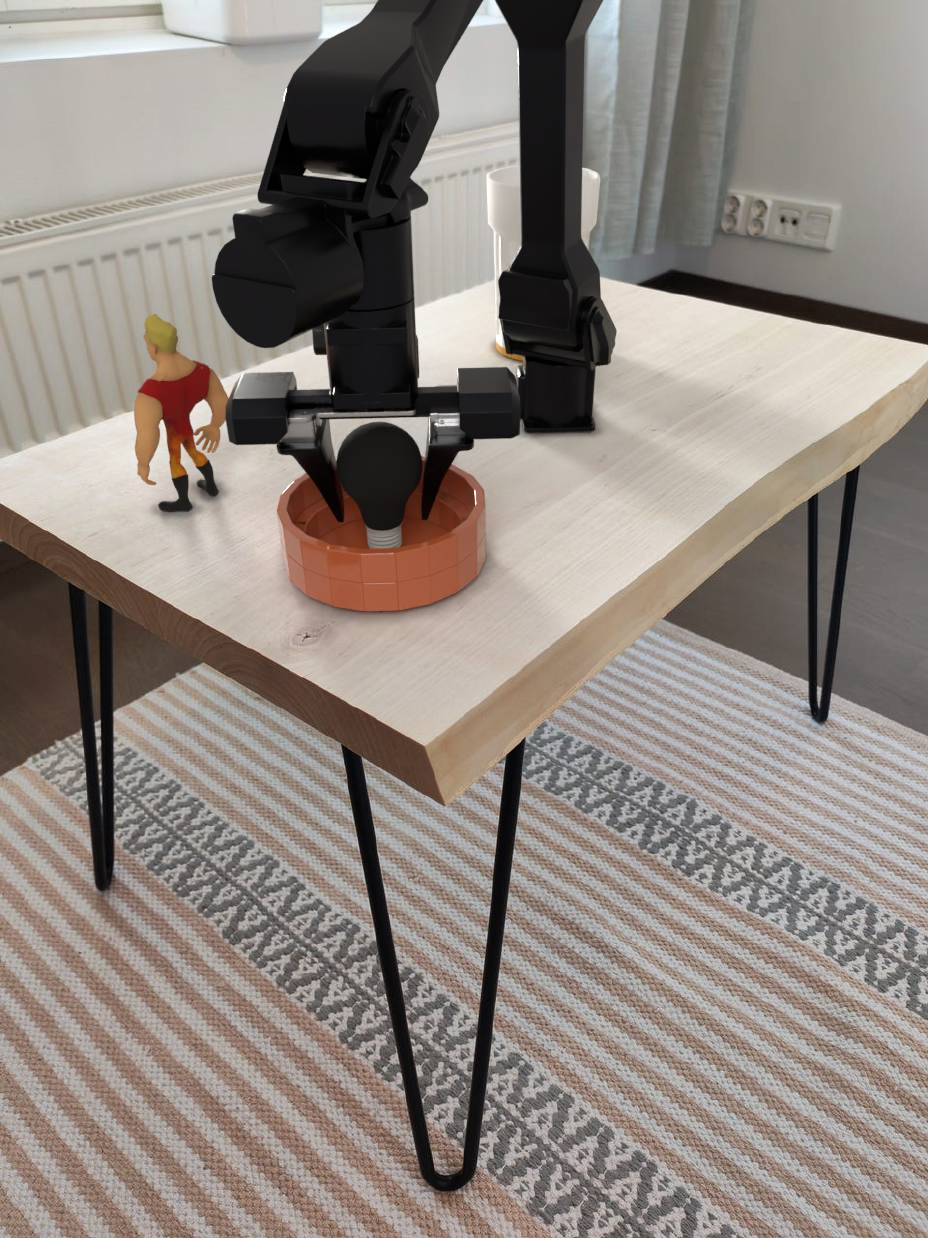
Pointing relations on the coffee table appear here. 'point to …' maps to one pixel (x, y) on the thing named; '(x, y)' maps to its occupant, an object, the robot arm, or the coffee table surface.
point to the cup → (508, 223)
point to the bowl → (384, 577)
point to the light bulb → (380, 478)
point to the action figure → (176, 412)
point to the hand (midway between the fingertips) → (383, 518)
